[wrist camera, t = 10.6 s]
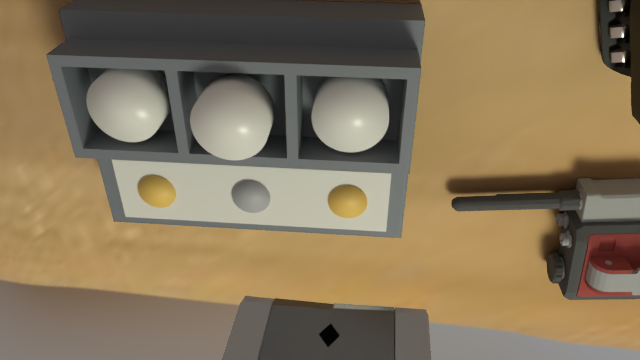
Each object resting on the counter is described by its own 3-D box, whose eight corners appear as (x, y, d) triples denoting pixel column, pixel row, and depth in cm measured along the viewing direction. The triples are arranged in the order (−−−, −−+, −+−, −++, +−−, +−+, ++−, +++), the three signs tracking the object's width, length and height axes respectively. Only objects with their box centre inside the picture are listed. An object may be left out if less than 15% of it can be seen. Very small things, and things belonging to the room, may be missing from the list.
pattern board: (421, 3, 30) (429, 37, 25) (399, 210, 37) (402, 264, 33) (84, -6, 31) (33, 25, 26) (130, 195, 39) (97, 245, 34)
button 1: (166, 60, 29) (154, 75, 28) (177, 126, 31) (166, 143, 30) (95, 58, 30) (78, 72, 28) (110, 123, 32) (95, 140, 30)
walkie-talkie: (781, 166, 34) (449, 178, 36) (830, 208, 30) (458, 218, 32) (737, 272, 38) (446, 276, 41) (775, 320, 35) (453, 321, 37)
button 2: (391, 69, 28) (392, 84, 27) (385, 135, 31) (386, 154, 29) (315, 66, 29) (311, 81, 27) (315, 132, 31) (311, 150, 29)
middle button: (273, 74, 28) (266, 91, 26) (276, 143, 30) (270, 162, 28) (196, 71, 28) (184, 87, 26) (205, 140, 30) (195, 158, 29)
